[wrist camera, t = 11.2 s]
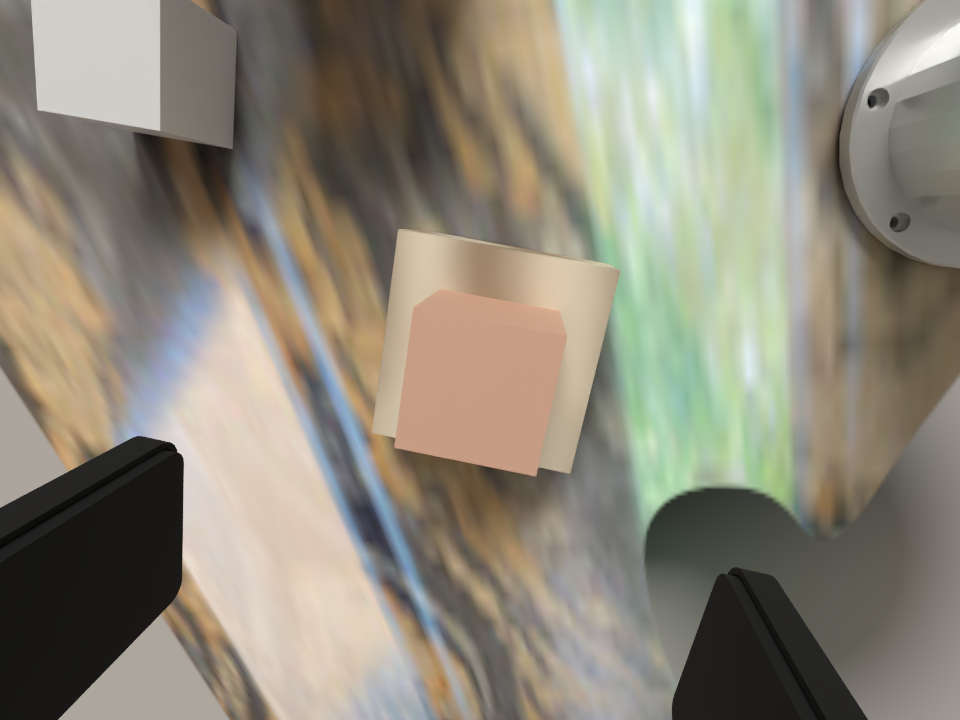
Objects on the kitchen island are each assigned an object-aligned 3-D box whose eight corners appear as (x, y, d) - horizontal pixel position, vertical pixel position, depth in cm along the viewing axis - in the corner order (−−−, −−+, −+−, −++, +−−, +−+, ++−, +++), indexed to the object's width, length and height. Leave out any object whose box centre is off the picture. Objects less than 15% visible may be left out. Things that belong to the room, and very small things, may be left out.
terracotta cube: (559, 310, 23) (567, 335, 18) (535, 422, 25) (536, 476, 19) (440, 288, 24) (413, 307, 18) (423, 400, 25) (394, 447, 20)
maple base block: (607, 263, 26) (620, 270, 23) (565, 440, 29) (570, 473, 25) (417, 228, 27) (398, 229, 23) (393, 405, 30) (371, 432, 26)
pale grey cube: (238, 31, 25) (160, -20, 20) (233, 149, 27) (160, 130, 22) (132, 14, 26) (28, -40, 20) (134, 132, 27) (37, 109, 22)
